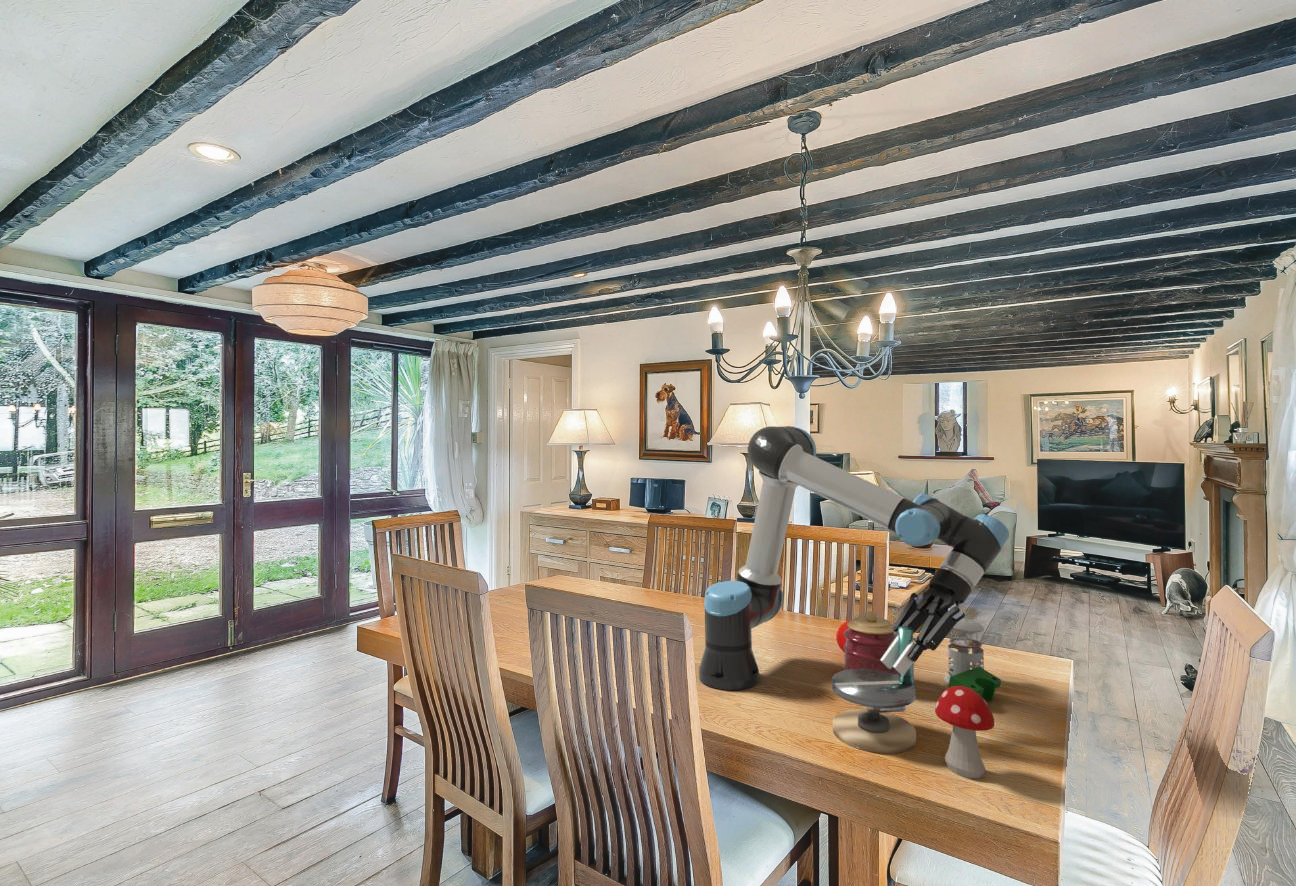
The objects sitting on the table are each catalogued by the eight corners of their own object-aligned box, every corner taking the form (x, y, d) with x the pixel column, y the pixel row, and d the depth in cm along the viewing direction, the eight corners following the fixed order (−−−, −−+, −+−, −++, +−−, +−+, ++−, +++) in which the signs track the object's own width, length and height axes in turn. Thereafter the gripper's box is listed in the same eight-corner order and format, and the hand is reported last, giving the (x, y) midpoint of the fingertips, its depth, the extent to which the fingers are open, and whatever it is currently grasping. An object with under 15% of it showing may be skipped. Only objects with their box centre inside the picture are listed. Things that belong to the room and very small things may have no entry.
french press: (938, 682, 151) (936, 580, 151) (953, 668, 160) (952, 572, 159) (982, 692, 144) (981, 586, 144) (995, 678, 153) (994, 577, 153)
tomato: (885, 668, 160) (884, 628, 160) (835, 663, 164) (835, 624, 164) (883, 651, 173) (882, 614, 173) (837, 647, 177) (836, 610, 177)
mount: (817, 722, 131) (817, 707, 131) (881, 711, 135) (881, 697, 135) (864, 759, 116) (864, 743, 116) (934, 745, 120) (934, 730, 120)
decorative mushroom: (925, 765, 113) (924, 683, 113) (952, 751, 118) (951, 673, 118) (978, 790, 105) (977, 703, 105) (1005, 775, 109) (1004, 691, 109)
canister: (871, 697, 143) (870, 622, 143) (833, 678, 155) (832, 608, 154) (912, 688, 148) (911, 614, 148) (873, 669, 160) (872, 602, 160)
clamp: (971, 725, 138) (970, 696, 134) (947, 709, 143) (945, 680, 139) (1003, 695, 142) (1003, 666, 139) (979, 680, 147) (978, 652, 144)
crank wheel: (849, 737, 117) (848, 643, 117) (821, 702, 133) (820, 619, 133) (933, 734, 118) (932, 640, 118) (895, 699, 134) (894, 616, 134)
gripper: (997, 598, 123) (932, 694, 118) (937, 582, 138) (877, 665, 134) (975, 574, 121) (907, 670, 116) (917, 560, 137) (855, 644, 132)
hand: (891, 667), depth 125 cm, fingers open, 3 cm apart
